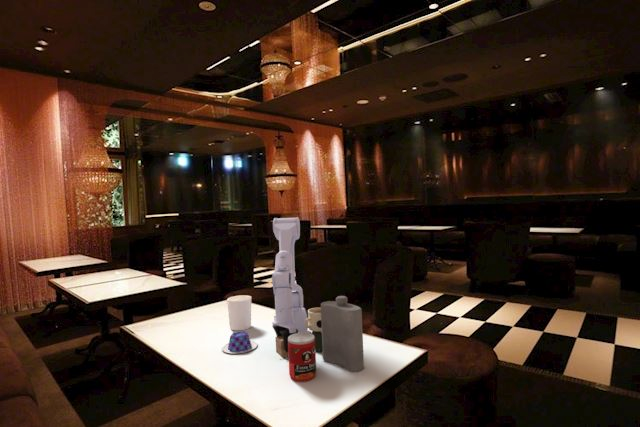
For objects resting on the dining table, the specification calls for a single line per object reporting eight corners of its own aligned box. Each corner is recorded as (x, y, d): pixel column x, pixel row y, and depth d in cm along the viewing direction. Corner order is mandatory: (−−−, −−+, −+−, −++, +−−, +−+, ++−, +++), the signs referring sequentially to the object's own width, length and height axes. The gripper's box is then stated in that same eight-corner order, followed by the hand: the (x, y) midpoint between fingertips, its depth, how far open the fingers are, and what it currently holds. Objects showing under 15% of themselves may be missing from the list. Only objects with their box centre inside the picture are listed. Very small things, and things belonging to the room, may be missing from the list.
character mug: (313, 356, 115) (311, 315, 115) (300, 350, 121) (298, 311, 120) (339, 347, 122) (337, 308, 122) (325, 341, 127) (324, 304, 127)
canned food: (294, 384, 97) (293, 344, 97) (285, 373, 104) (283, 335, 104) (321, 378, 100) (319, 338, 100) (310, 367, 107) (308, 330, 107)
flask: (369, 366, 106) (366, 298, 106) (356, 373, 102) (353, 303, 102) (332, 353, 117) (330, 291, 116) (319, 359, 113) (317, 295, 112)
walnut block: (290, 348, 122) (289, 334, 122) (295, 353, 118) (295, 338, 118) (276, 351, 120) (275, 336, 120) (281, 357, 115) (280, 341, 115)
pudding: (214, 351, 124) (214, 335, 124) (241, 340, 133) (241, 325, 133) (238, 358, 117) (237, 342, 117) (264, 346, 126) (264, 331, 126)
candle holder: (240, 332, 141) (239, 302, 140) (223, 329, 146) (221, 299, 146) (257, 325, 149) (256, 296, 149) (240, 322, 154) (239, 294, 154)
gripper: (265, 304, 123) (267, 344, 123) (280, 314, 110) (282, 358, 111) (284, 301, 127) (286, 339, 127) (301, 310, 114) (303, 353, 114)
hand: (285, 348), depth 119 cm, fingers closed on walnut block, 5 cm apart
